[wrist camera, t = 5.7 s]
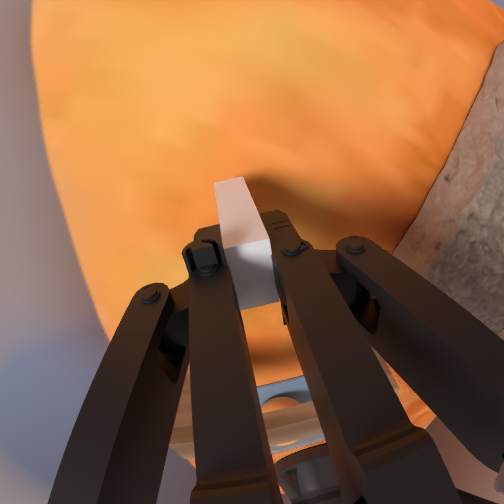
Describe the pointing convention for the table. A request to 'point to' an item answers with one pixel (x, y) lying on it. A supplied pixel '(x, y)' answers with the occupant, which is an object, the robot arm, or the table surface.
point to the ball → (279, 404)
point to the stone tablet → (467, 212)
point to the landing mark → (285, 390)
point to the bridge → (276, 422)
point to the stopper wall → (298, 443)
